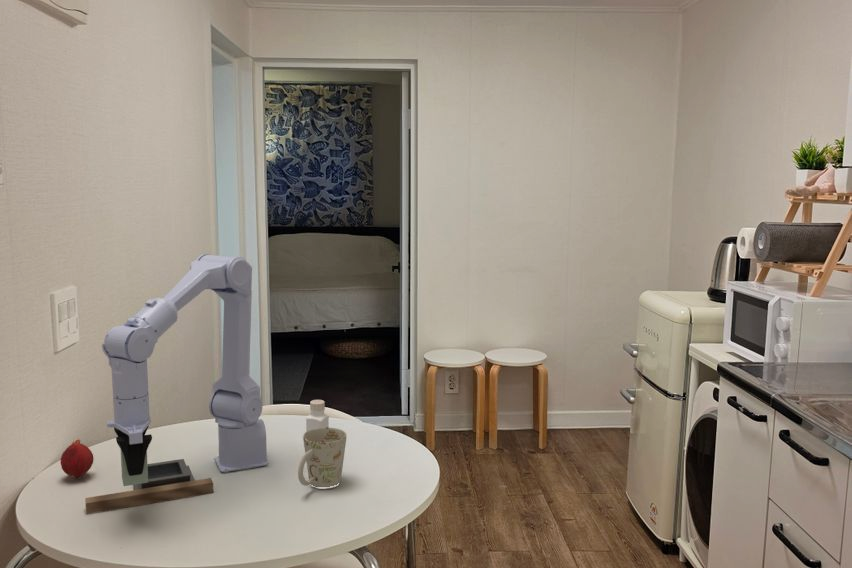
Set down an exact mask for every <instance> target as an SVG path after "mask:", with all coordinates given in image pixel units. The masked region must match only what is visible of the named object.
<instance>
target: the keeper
mask: <svg viewBox="0 0 852 568" xmlns="http://www.w3.org/2000/svg"><path fill="white" fill-rule="evenodd" d="M147 465H148V483H142V484H135V485H132V486H133V487H132V488H133V490H138V489H144V488H151V487H157V486H163V485H169V484H175V483H182V482H188V481H194V480H196V479H195V477H194V474H193V473H192V470H191V467H190V465H187V464H186V462H185V459H184V458H181V459H174V460H167V461H166V460H165V461H160V462H154V463H147Z"/></svg>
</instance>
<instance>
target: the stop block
mask: <svg viewBox="0 0 852 568" xmlns="http://www.w3.org/2000/svg"><path fill="white" fill-rule="evenodd" d="M119 449H120V464H121V465H120V466H121V479H122V486H123V487H128V486H133V485H135V484H142V483H148V465H147V464H148V451H147V452H146V456H145V462H144V468H143V472H142V474H140V475H133V476H129V473H128V470H127V466H126V461H125V457H124V455H123V452H122V450H121V448H120V447H119Z"/></svg>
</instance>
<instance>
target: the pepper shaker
mask: <svg viewBox="0 0 852 568" xmlns="http://www.w3.org/2000/svg"><path fill="white" fill-rule="evenodd" d="M325 402H326V401H324V400H322V399H313V400H311V401H310V402H309V403H310V404H309V407H310V408H309V409H310V414H308V415H307V417H306V419H305V422H306V423H305V426H306V427H305V428H306V431H305V433H306V432H307V431H309V430H312V429H316V428H325V427H328V428H330V426H329V425H330V423H329V422H330V420H329V415H328V414H326V413H325V411H326V410H325V409H326V408H325Z"/></svg>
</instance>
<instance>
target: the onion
mask: <svg viewBox="0 0 852 568" xmlns="http://www.w3.org/2000/svg"><path fill="white" fill-rule="evenodd" d="M94 458H95V457H94V454H93V452H92V451H91V449H90V448H89V447H88V446H87V445H85V444H83V443H81V439H79V438H76V439H74V441H73V442H72V443H71V444H70V445H68V447H66V449H64V451H63V453H61V457H60V461H59V462H60V466H61V469H62V471H63V473H64V474H66V475H68V476H70V477H72V478H74V479H81V478H82V477H83V476H84V475H86V473H88V471H89V470H90V469H91V468H92V466H93V464H94Z"/></svg>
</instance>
